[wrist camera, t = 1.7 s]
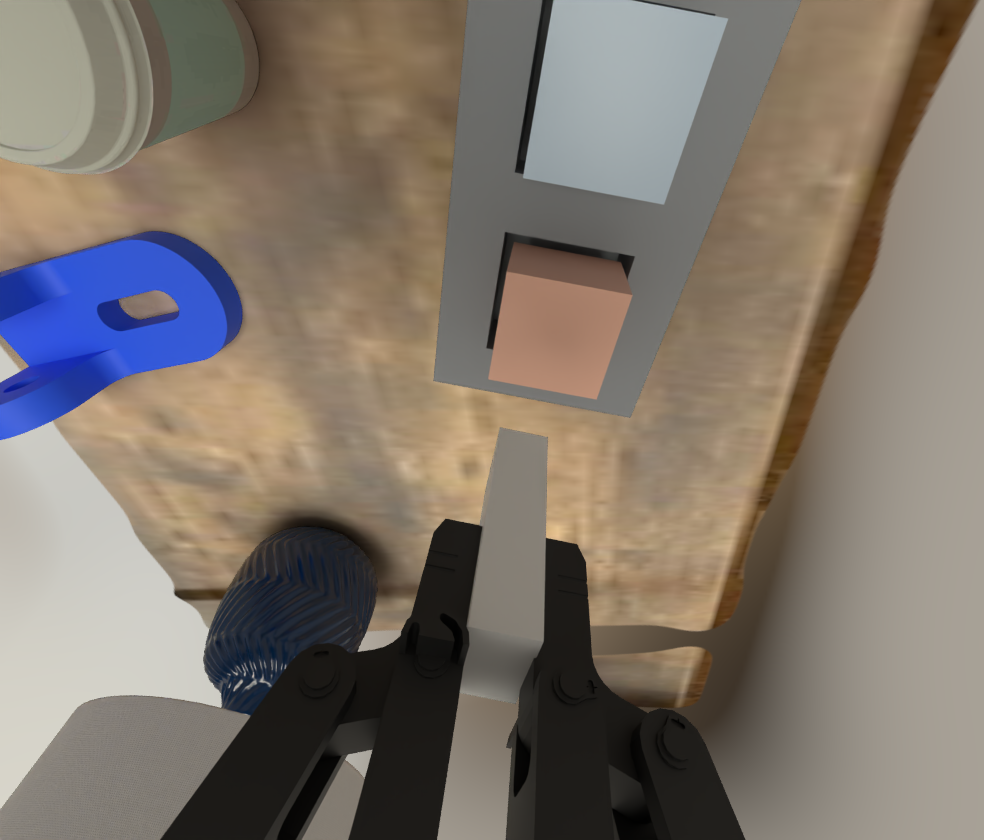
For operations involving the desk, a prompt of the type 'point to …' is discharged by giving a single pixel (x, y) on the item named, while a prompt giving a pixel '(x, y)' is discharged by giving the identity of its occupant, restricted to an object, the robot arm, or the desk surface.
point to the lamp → (199, 727)
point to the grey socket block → (583, 191)
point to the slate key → (619, 95)
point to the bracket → (107, 321)
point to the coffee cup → (116, 76)
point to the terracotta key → (559, 320)
